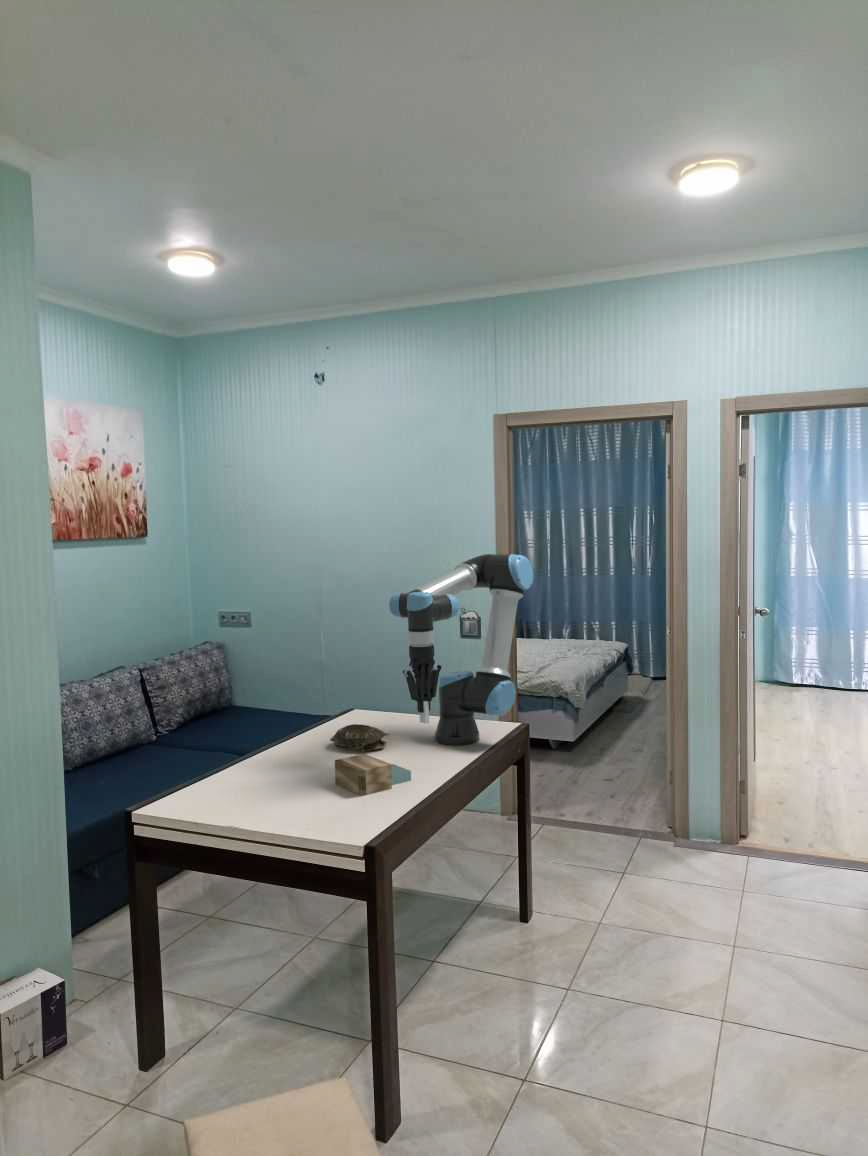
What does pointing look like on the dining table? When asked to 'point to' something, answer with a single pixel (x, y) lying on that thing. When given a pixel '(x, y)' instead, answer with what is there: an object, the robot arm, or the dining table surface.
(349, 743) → the turtle shell
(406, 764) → the dining table surface
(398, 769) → the teal tabbed plate
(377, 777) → the overhang
